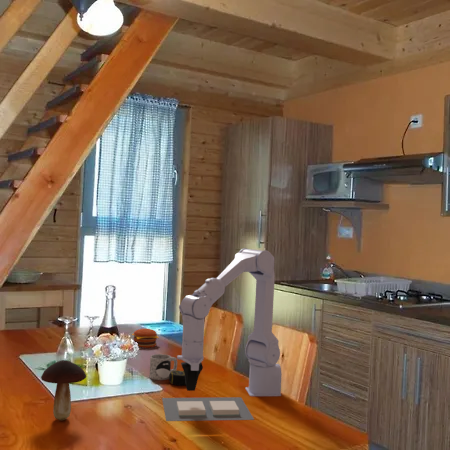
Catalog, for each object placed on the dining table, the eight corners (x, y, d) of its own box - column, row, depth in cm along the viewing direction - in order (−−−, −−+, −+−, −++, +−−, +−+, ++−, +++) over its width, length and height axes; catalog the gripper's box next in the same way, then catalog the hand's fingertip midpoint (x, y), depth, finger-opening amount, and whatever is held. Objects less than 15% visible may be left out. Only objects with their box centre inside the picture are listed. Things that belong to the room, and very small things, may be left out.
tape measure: (192, 387, 177) (193, 375, 177) (171, 388, 175) (171, 376, 175) (187, 380, 184) (188, 369, 184) (166, 381, 182) (167, 370, 182)
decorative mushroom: (47, 411, 151) (50, 354, 150) (89, 413, 150) (91, 356, 150) (32, 426, 140) (34, 365, 139) (77, 429, 139) (79, 367, 139)
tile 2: (202, 401, 158) (205, 409, 151) (202, 406, 158) (205, 416, 151) (176, 401, 157) (179, 410, 150) (176, 407, 157) (178, 416, 150)
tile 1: (234, 400, 160) (239, 409, 153) (234, 406, 160) (238, 415, 153) (209, 401, 158) (213, 409, 151) (209, 406, 158) (212, 415, 152)
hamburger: (129, 343, 231) (130, 327, 230) (152, 342, 235) (153, 326, 235) (136, 349, 222) (137, 331, 222) (160, 347, 226) (161, 330, 226)
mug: (157, 381, 181) (158, 360, 181) (145, 376, 186) (146, 355, 186) (182, 376, 188) (183, 356, 188) (170, 371, 193) (171, 352, 193)
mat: (240, 398, 168) (241, 397, 168) (254, 421, 150) (254, 419, 150) (161, 399, 164) (162, 397, 164) (166, 422, 146) (166, 420, 146)
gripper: (176, 334, 162) (173, 382, 162) (180, 346, 148) (178, 398, 148) (200, 334, 163) (198, 381, 164) (207, 346, 149) (205, 398, 149)
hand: (190, 390), depth 156 cm, fingers closed
